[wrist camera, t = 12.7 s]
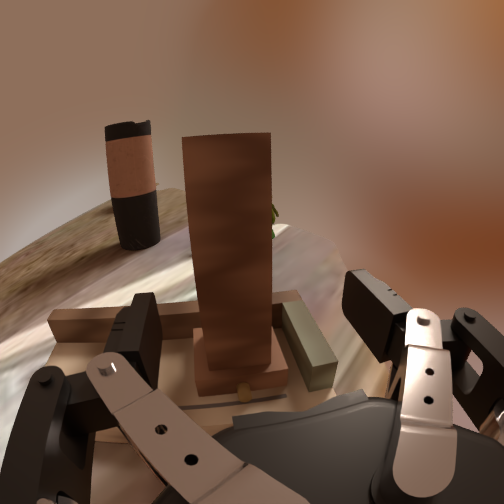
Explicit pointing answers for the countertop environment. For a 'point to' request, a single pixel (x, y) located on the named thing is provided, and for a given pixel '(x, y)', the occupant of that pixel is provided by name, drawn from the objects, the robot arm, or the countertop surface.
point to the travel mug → (132, 184)
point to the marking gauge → (232, 263)
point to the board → (182, 360)
